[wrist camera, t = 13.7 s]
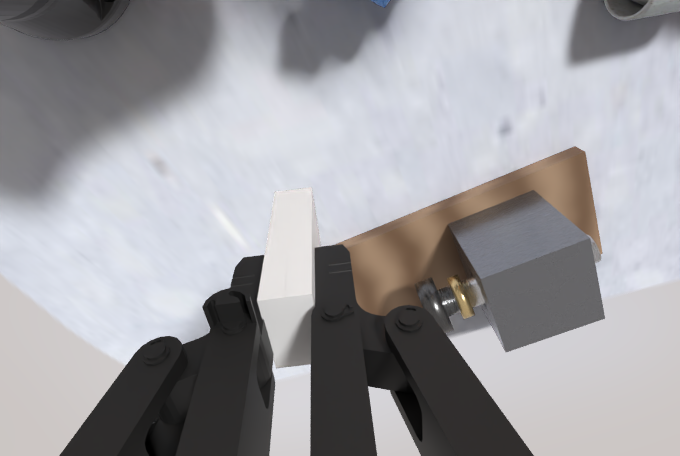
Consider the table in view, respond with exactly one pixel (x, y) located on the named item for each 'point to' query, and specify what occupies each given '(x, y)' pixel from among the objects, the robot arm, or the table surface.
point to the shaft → (458, 296)
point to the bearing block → (529, 269)
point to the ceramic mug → (640, 8)
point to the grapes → (381, 2)
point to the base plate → (436, 239)
